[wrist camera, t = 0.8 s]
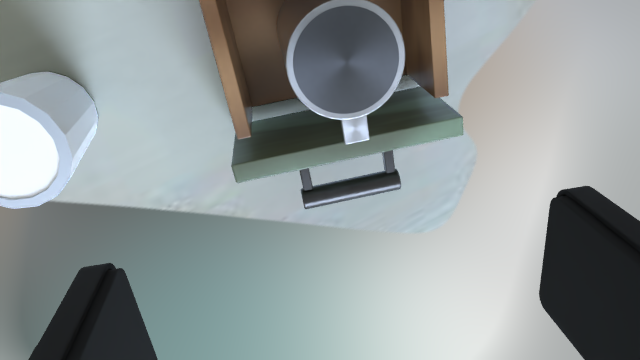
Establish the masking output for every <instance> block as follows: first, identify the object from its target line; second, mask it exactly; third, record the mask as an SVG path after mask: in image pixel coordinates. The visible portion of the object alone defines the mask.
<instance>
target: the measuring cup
mask: <svg viewBox="0 0 640 360" xmlns="http://www.w3.org/2000/svg"><path fill="white" fill-rule="evenodd" d="M277 32H278V38H279V42H280V46H281V50H282V55H283V59H284V63H285V67H286V72H287V76H288V79H289V82H290V85H291V87H292V89H293V91H294V93H295V94H296V96H297V97H298V98H299V100H300V101H301V102H302V103H303V104H304V105H305V106H306V107H308V108H309V109H310V110H312V111H313V112H315V113H317V114H319V115H321V116H324V117H327V118H331V119H338V120H340V121H341V127H342V133H343V139H344V143H345V144H351V143H356V142H360V141H365V140H369V139H370V137H369V130H368V123H367V114H369V113H371V112H373V111H374V110H376V109H377V108H379V107H380V106H382V105H383V104H384V103H385V102H386V101H387V100H388V99H389V98H390V96H391V95H392V94H393V92H394V91H395V89H396V88H397V86H398V84H399V82H400V80H401V77H402V74H403V70H404V66H405V46H404V41H403V38H402V34H401V32H400V30H399V28H398V26H397V24H396V23H395V21H394V20H393V19H392V17H391V16H390V15H389V14H388V13H387V12H386V11H385V10H383V9H382V8H380V7H379V6H377V5H376V4H374V3H372V2H369V1H367V0H285V2H284V3H283V5H282V7H281V10H280V12H279V16H278V22H277Z"/></svg>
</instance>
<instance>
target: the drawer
mask: <svg viewBox="0 0 640 360" xmlns="http://www.w3.org/2000/svg"><path fill="white" fill-rule="evenodd" d="M367 1H369V2H372V3H374V4H376V5H377V6H379V7H380V8H382V9H383V10H385V11H386V12H387V13H388V14H389V15H390V16H391V17H392V19H393V20H394V21H395V23H396V24H397V26H398V28H399V30H400V32H401V34H402V38H403V41H404V46H405V66H404V70H403V74H402V76H404V75H408V76H409V77H410V78H412V79H413V80H414V81H415V82H416V83H417V84H419V85H420V86H421V87H416V88H412V89H407V90H402V91H397V92H393V94H392V95H391V96H390V98H389V99H388V100H387V101H386V102H385V103H384V104H383V105H382V106H380V107H379V108H377V109H376V110H374V111H373V112H371V113H369V114H367V123H368V130H369V137H370V139H369V140H365V141H360V142H356V143H351V144H345V143H344V139H343V133H342V127H341V121H340V120H338V119H331V118H327V117H324V116H321V115H319V114H317V113H315V112H313V111H312V110H306V111H301V112H297V113H292V114H287V115H282V116H277V117H273V118H268V119H263V120H258V121H253V122H252V107H254V106H259V105H264V104H269V103H274V102H278V101H283V100H288V99H293V98H298V97H297V96H296V94H295V93H294V91H293V89H292V87H291V85H290V82H289V79H288V76H287V72H286V67H285V63H284V59H283V55H282V50H281V46H280V42H279V38H278V32H277V22H278V16H279V12H280V10H281V7H282V5H283V3H284V2H285V0H199V2H200V6H201V10H202V13H203V17H204V20H205V24H206V28H207V31H208V35H209V38H210V42H211V46H212V49H213V53H214V57H215V60H216V64H217V67H218V71H219V75H220V78H221V82H222V85H223V89H224V93H225V96H226V100H227V103H228V107H229V111H230V114H231V118H232V122H233V125H234V129H235V141H234V149H233V157H232V170H233V173H234V177H235V180H236V182H237V183H240V182H245V181H250V180H254V179H259V178H264V177H269V176H273V175H278V174H283V173H287V172H292V171H297V170H300V175H301V180H302V184H303V188H302V189H301V194H302V199H303V203H304V208H305V209H310V208H314V207H319V206H324V205H328V204H333V203H338V202H342V201H347V200H352V199H356V198H361V197H366V196H370V195H375V194H379V193H384V192H389V191H393V190H398V189H400V188H401V181H400V176H399V173H398V171H397V169H395V166H394V157H393V150H396V149H401V148H405V147H410V146H415V145H419V144H424V143H429V142H434V141H438V140H443V139H448V138H452V137H457V136H462V135H463V117H462V116H461V115H460V114H459V113H457V112H456V111H455V110H454V109H453V108H451V107H450V106H449V105H448V104H447V103H445V102H444V101H443V100H442V99H440V97H445V96H448V95H449V94H448V75H447V56H446V37H445V17H444V0H367ZM377 153H382V154H383V162H384V170H385V171H382V172H377V173H372V174H368V175H363V176H358V177H354V178H349V179H344V180H340V181H335V182H330V183H325V184H321V185H316V186H312V182H311V177H310V172H309V168H311V167H316V166H320V165H325V164H330V163H335V162H339V161H344V160H349V159H353V158H358V157H363V156H368V155H372V154H377Z"/></svg>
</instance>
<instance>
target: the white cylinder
mask: <svg viewBox="0 0 640 360" xmlns="http://www.w3.org/2000/svg"><path fill="white" fill-rule="evenodd" d="M97 123H98V114H97V110H96V107H95V103H94V101H93V100H92V98H91V97H90V96H89V94H88V93H87V92H86V90H85V89H84V88H83V87H82V86H81V85H79V84H78V83H76V82H75V81H73V80H72V79H70V78H69V77H67V76H63V75H60V74H56V73H53V72H38V73H30V74H27V75H24V76H20V77H17V78H14V79H11V80H8V81H5V82H1V83H0V206H3V207H7V208H12V209H16V208H25V207H35V206H39V205H41V204H43V203H45V202H47V201H49V200H51V199H53V198H55V197H56V196H58V195H59V193H60V192H61V191H62V189H63V188H64V187H65V185H66V184H67V182H68V181H69V180H70V178H71V176H72V174H73V173H74V171H75V169H76V167H77V165H78V164H79V162H80V160H81V158H82V157H83V155H84V153H85V151H86V149H87V148H88V146H89V144H90V142H91V140H92V139H93V137H94V135H95V133H96V130H97Z"/></svg>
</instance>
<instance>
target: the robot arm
mask: <svg viewBox="0 0 640 360" xmlns="http://www.w3.org/2000/svg"><path fill="white" fill-rule="evenodd" d="M547 226H548V227H547V234H546V242H545V250H544V258H543V266H542V274H541V283H540V291H539V296H540V301H541V304H542V306H543V308H544V309H545V311H546V312H547V313H548V314H549V316H550V317H551V318H552V319H553V321H554V322H555V323H556V324H557V325H558V327H559V328H560V329H561V331H562V332H563V333H564V334H565V335H566V337H567V338H568V339H569V341H570V342H571V343H572V344H573V346H574V347H575V348H576V349H577V351H578V352H579V353H580V354H581V356H582V357H583V358H584V359H585V360H640V221H639V220H637V219H636V218H634V217H633V216H632V215H630V214H629V213H627V212H626V211H625V210H623V209H622V208H620V207H619V206H617V205H616V204H614V203H613V202H612V201H610V200H609V199H608V198H606V197H605V196H603V195H602V194H600V193H599V192H598V191H596V190H595V189H593V188H592V187H590V186H583V187H577V188H571V189H564V190H561V191H560V192H559V193H558V194H557V197H556V198H553V199H552V200H551V203H550V209H549V217H548V225H547ZM29 360H157V357H156V354H155V351H154V348H153V346H152V343H151V340H150V338H149V335H148V332H147V330H146V327H145V324H144V322H143V319H142V316H141V314H140V311H139V308H138V305H137V303H136V300H135V297H134V295H133V292H132V289H131V287H130V284H129V281H128V279H127V276H126V273H125V271H124V270H123V269H122V268H119V269H116V268H115V266H114V265H113V264H111V263H107V264H101V265H94V266H88V267H83V268H81V269H80V270H79V272H78V274H77V275H76V277H75V279H74V281H73V282H72V284H71V286H70V288H69V290H68V291H67V293H66V295H65V297H64V299H63V301H62V302H61V304H60V306H59V308H58V309H57V311H56V313H55V315H54V317H53V318H52V320H51V322H50V324H49V326H48V327H47V329H46V331H45V333H44V334H43V336H42V338H41V340H40V342H39V343H38V345H37V346H36V347H35V349H34V351H33V353H32V354H31V356H30V358H29Z"/></svg>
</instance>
